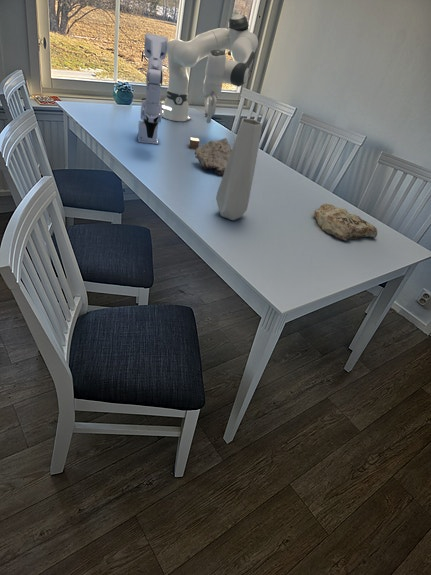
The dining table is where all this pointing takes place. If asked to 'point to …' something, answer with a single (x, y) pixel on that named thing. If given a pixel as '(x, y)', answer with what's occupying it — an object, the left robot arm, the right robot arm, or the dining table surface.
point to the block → (194, 143)
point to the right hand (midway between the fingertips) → (207, 119)
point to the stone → (343, 223)
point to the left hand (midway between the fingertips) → (150, 134)
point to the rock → (214, 155)
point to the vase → (239, 171)
